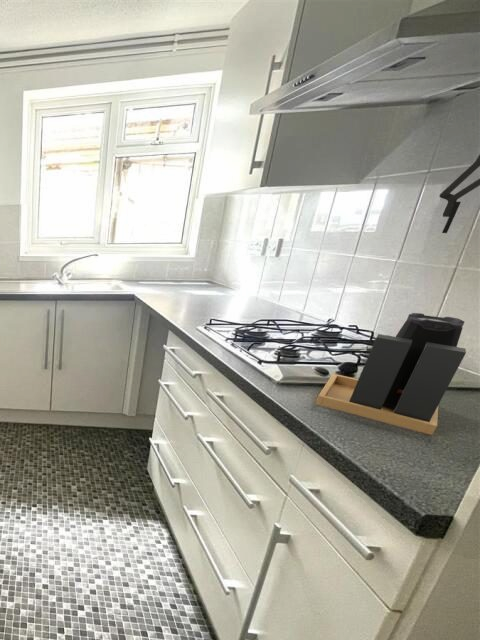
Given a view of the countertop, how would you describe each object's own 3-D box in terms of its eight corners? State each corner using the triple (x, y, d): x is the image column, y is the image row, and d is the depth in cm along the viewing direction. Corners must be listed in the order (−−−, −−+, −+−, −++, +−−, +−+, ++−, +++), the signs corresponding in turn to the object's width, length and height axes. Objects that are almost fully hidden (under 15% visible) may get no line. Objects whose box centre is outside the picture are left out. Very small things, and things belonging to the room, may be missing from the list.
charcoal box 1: (378, 412, 87) (412, 339, 81) (377, 417, 85) (411, 343, 79) (348, 404, 91) (378, 333, 84) (345, 408, 89) (376, 337, 82)
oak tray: (432, 408, 91) (438, 397, 90) (430, 438, 79) (437, 426, 78) (328, 383, 103) (333, 373, 101) (314, 406, 91) (318, 395, 90)
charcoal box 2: (425, 424, 83) (465, 348, 76) (425, 429, 81) (466, 352, 74) (391, 415, 86) (427, 342, 80) (390, 420, 84) (426, 345, 78)
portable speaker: (406, 418, 85) (452, 325, 77) (356, 398, 93) (393, 313, 85) (434, 412, 87) (482, 322, 79) (383, 394, 95) (421, 310, 87)
